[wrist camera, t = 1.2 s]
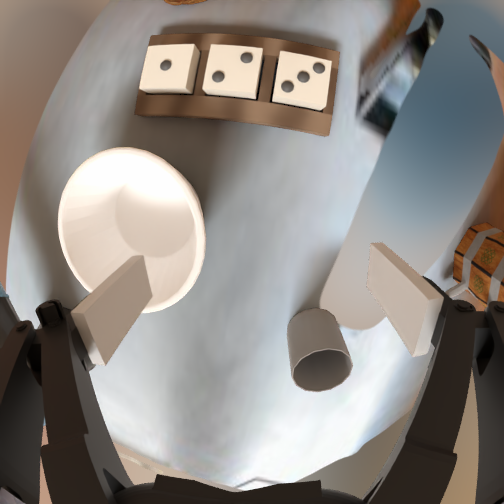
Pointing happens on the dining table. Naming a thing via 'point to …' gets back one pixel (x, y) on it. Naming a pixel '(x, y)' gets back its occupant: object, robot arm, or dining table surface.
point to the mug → (480, 264)
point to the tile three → (302, 81)
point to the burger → (183, 1)
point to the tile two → (233, 71)
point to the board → (240, 108)
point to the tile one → (170, 69)
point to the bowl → (132, 222)
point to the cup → (317, 351)
